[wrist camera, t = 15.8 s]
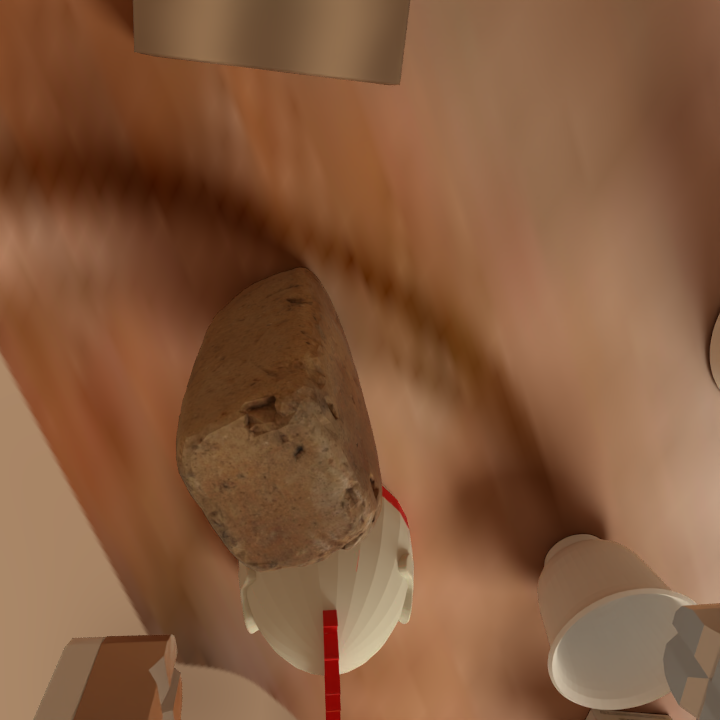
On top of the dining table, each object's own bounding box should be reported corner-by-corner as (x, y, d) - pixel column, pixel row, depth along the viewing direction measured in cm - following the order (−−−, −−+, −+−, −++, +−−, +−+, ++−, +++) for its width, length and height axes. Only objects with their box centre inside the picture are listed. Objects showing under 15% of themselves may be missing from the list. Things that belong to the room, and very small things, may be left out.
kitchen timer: (246, 608, 54) (226, 785, 40) (233, 473, 48) (205, 625, 35) (406, 599, 55) (440, 768, 41) (411, 465, 49) (452, 610, 36)
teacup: (600, 641, 59) (655, 743, 50) (480, 578, 55) (515, 677, 45) (693, 554, 55) (769, 646, 46) (572, 479, 51) (630, 565, 42)
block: (211, 290, 42) (139, 444, 24) (312, 248, 42) (318, 373, 24) (278, 419, 47) (261, 631, 28) (371, 382, 46) (414, 575, 28)
